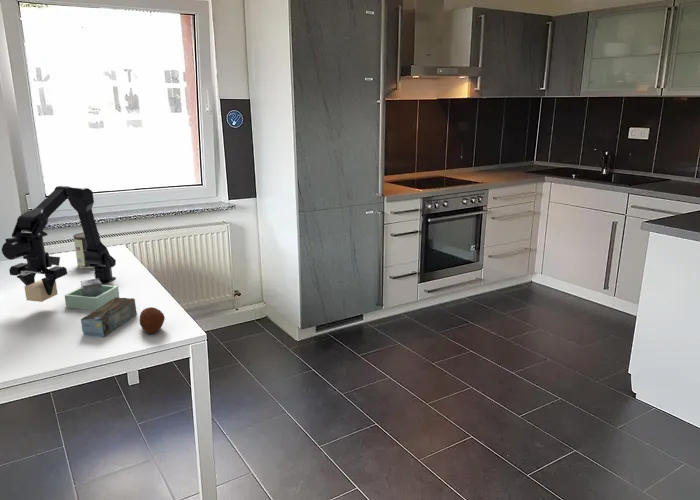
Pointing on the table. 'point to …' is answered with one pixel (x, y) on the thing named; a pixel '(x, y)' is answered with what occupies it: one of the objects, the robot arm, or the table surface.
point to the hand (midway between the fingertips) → (41, 294)
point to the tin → (91, 288)
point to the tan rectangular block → (38, 291)
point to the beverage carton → (108, 317)
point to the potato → (151, 320)
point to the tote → (91, 298)
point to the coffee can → (81, 250)
